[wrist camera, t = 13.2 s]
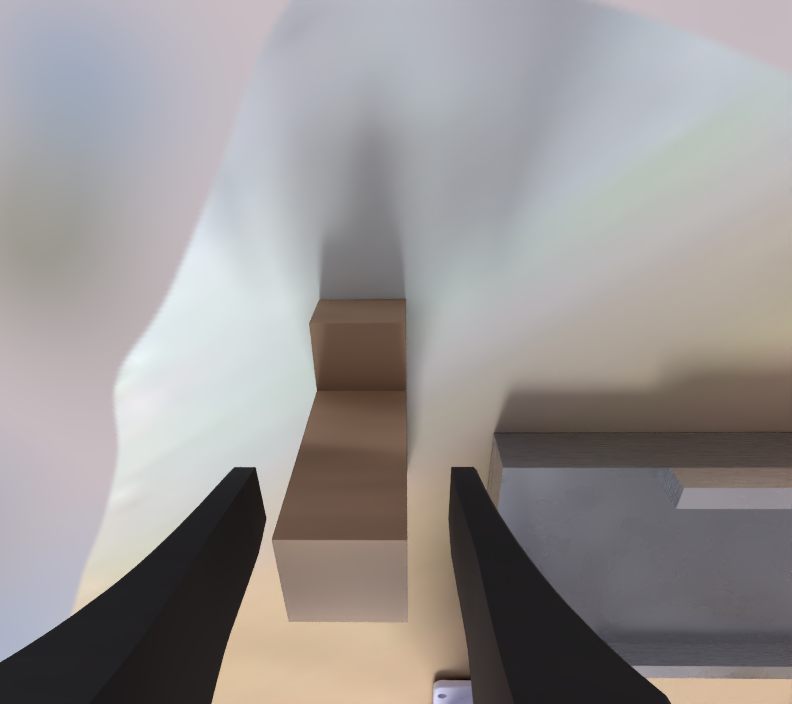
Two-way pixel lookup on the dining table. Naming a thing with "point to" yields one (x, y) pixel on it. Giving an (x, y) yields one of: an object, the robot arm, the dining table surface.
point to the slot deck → (661, 542)
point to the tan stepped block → (350, 472)
